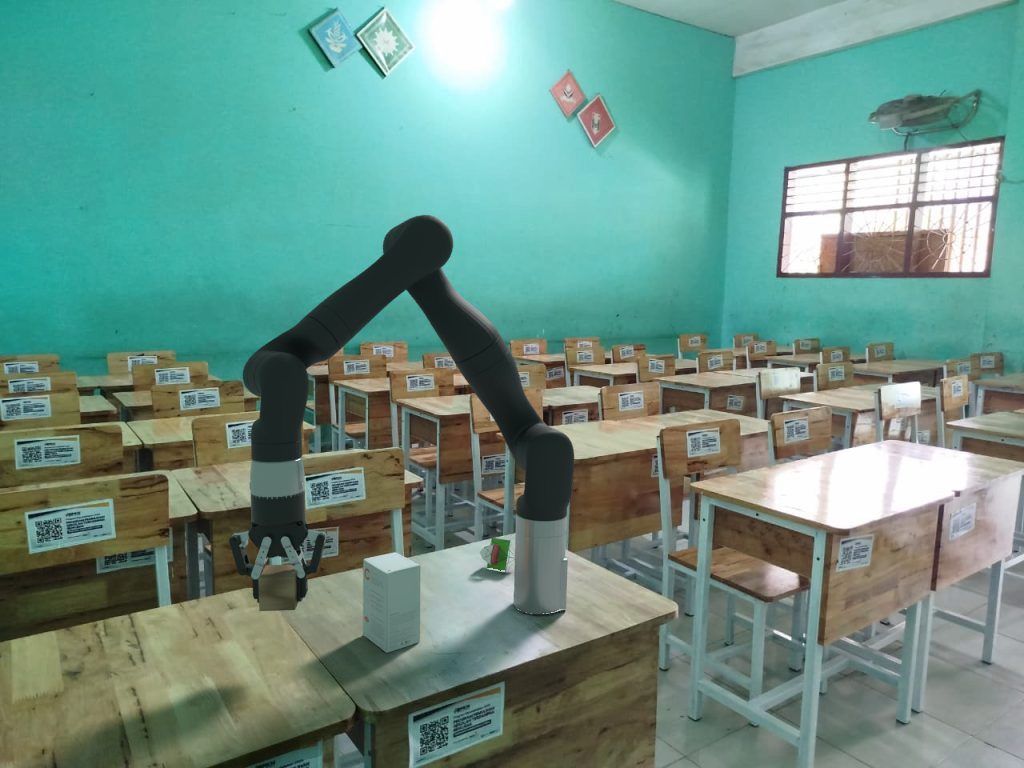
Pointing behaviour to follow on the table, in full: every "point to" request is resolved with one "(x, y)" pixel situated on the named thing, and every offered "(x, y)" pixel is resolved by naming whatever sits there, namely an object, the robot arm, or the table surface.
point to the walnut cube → (277, 588)
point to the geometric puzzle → (497, 553)
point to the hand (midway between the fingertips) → (280, 599)
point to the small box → (391, 601)
